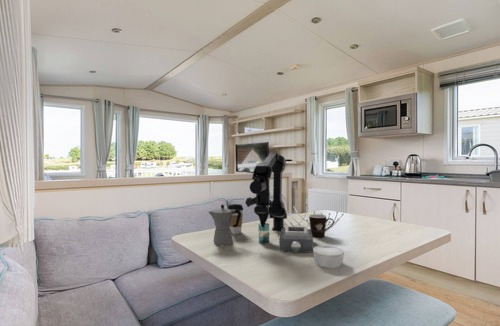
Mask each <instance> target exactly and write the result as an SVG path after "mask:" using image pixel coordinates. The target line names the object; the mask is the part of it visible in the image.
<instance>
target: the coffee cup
mask: <svg viewBox="0 0 500 326" xmlns="http://www.w3.org/2000/svg"><path fill="white" fill-rule="evenodd" d="M227 209H230V210H235V209H238V210H239V211H240V212H241V217H240V220H239V223H238V226H237V227H233V225H235V224H236V220H237V215H238V214H237V213H235V214H232V219H231V225H230V229H231V233H232V235H239V233H240V234H242V229H243V227H242V225H243V210H244V207H243V204H240V203H239V204H238V203H236V204H235V203H233V204H228V207H227Z"/></svg>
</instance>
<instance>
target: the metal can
mask: <svg viewBox="0 0 500 326" xmlns="http://www.w3.org/2000/svg"><path fill="white" fill-rule="evenodd" d="M258 243H259V244H262V245H266V244H267V245H268V244H269V243H270V224H269V223H268V222H265V225H264V227H262V226H261V223H258Z"/></svg>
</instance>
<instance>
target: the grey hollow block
mask: <svg viewBox="0 0 500 326" xmlns="http://www.w3.org/2000/svg"><path fill="white" fill-rule="evenodd" d="M307 227H308V226H295V225H294V226H292V225H290V226H289V225H286V226H285V228H284V229H283V228H282V229H281V230H280V234H279V238H278V240H279V244H278V245H279V246H278V247H279V252H295V253H298V252H299V253H313V248H314V239H313V238H314V237H312V231H311V229H308V228H307Z"/></svg>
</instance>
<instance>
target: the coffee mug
mask: <svg viewBox="0 0 500 326" xmlns="http://www.w3.org/2000/svg"><path fill="white" fill-rule="evenodd" d="M308 220H309V227H310V229H311V231H312V237H313V238H319V239H321V238H325V233H326V231H327V230H329V229H330V228H331V227H333V225H334V224H335V221H334V219H332V218H330V217H329V218H327V215H326V214H325V215H324V214H321V213H320V214H319V213H318V214H317V213H316V214H309V215H308ZM329 220H331V221H332V223H331V225H329V226H328V227H326V225H327V223H328V221H329Z"/></svg>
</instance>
